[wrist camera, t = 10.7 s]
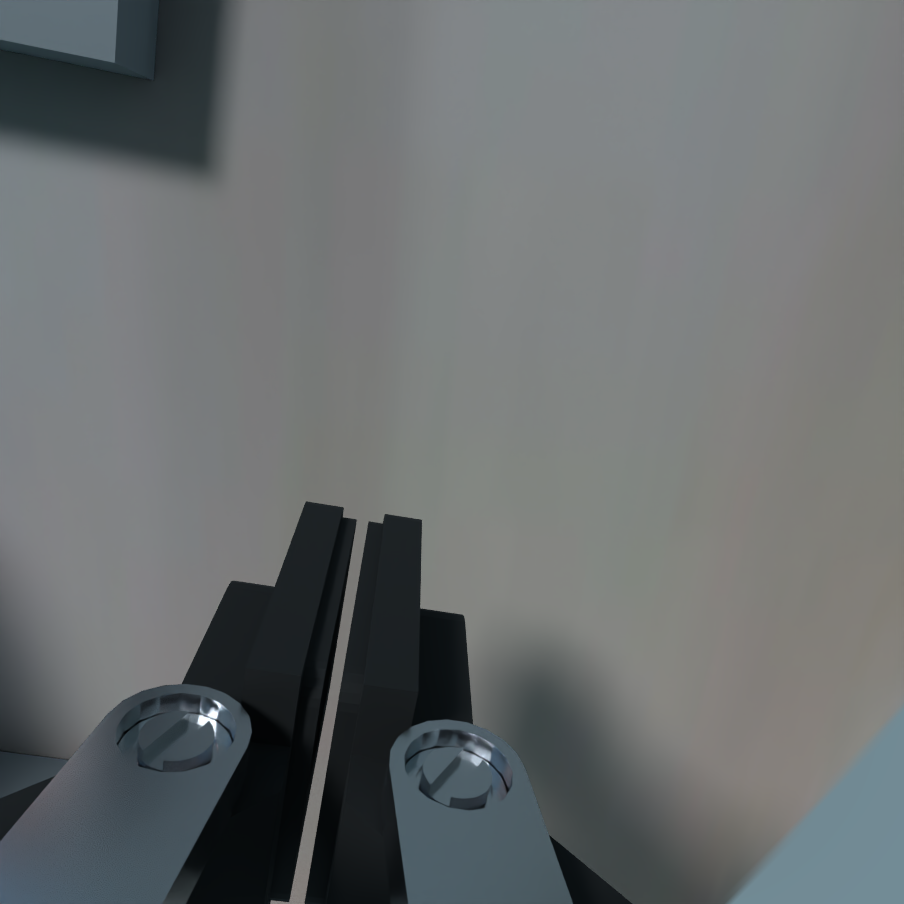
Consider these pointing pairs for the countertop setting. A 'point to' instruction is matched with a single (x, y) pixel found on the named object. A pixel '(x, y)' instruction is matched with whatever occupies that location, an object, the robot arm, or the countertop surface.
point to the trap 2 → (84, 32)
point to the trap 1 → (25, 771)
